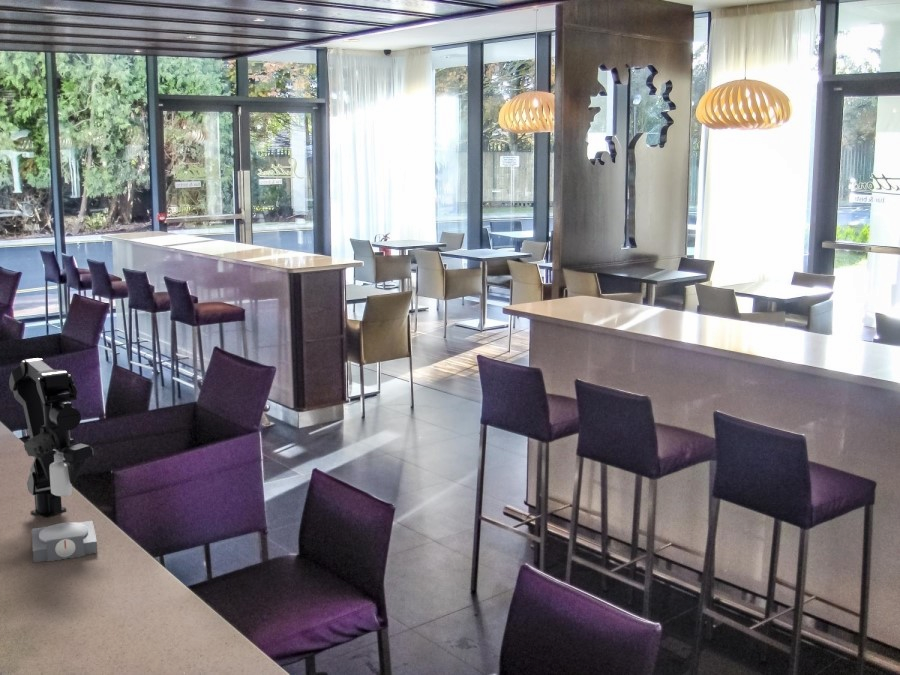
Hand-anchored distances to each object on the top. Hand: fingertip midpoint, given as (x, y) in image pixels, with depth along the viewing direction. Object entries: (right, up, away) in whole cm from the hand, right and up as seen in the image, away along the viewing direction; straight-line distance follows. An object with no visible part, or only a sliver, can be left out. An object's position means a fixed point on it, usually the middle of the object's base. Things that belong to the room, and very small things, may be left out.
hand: (60, 480), depth 236 cm
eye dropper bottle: (0, -4, +1) cm, 4 cm away
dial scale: (+5, -15, -9) cm, 18 cm away
